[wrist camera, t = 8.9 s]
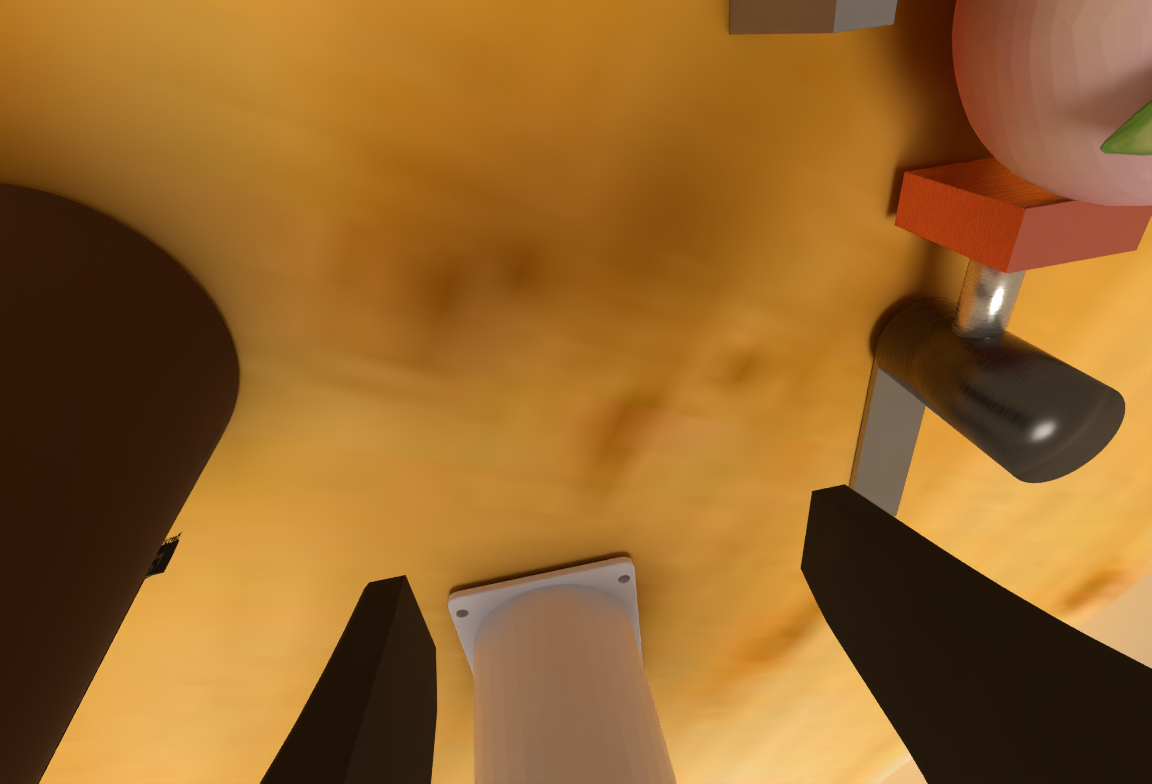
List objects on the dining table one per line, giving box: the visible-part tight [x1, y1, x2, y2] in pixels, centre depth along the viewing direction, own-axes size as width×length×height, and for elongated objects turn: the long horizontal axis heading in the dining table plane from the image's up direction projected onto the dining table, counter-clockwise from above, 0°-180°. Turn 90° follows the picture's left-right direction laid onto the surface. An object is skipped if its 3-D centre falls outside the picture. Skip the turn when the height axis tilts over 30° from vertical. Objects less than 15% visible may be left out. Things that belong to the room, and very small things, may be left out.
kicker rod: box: [876, 157, 1152, 483], centre depth 17 cm, size 8×4×6 cm, turn 7°
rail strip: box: [849, 354, 926, 516], centre depth 23 cm, size 9×2×1 cm, turn 7°
